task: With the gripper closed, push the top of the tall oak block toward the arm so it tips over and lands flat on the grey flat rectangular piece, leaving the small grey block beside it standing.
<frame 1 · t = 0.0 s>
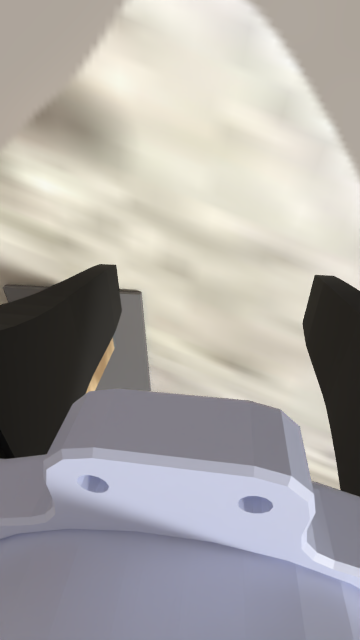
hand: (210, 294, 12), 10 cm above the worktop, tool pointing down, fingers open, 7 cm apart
grey flat rectangular piece: (88, 361, 29), on the worktop
oak block: (77, 323, 26), resting on grey flat rectangular piece
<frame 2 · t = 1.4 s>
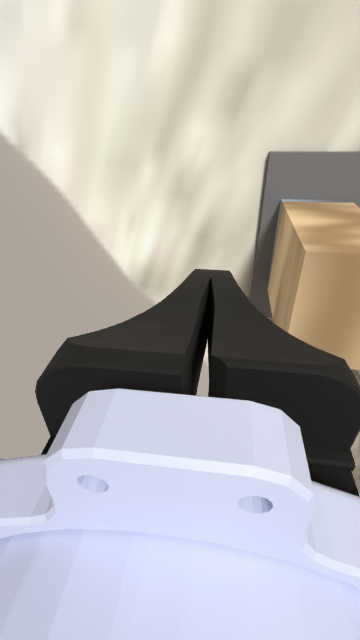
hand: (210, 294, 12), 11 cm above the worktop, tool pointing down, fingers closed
oak block: (305, 247, 21), resting on grey flat rectangular piece
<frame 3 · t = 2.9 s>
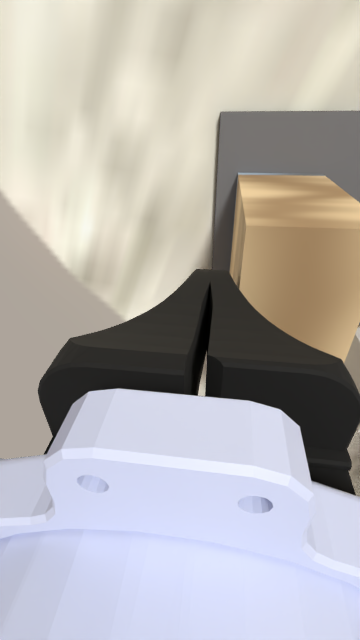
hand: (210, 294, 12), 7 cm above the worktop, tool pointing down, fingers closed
grey flat rectangular piece: (355, 234, 17), on the worktop
oak block: (270, 233, 17), resting on grey flat rectangular piece, touching gripper
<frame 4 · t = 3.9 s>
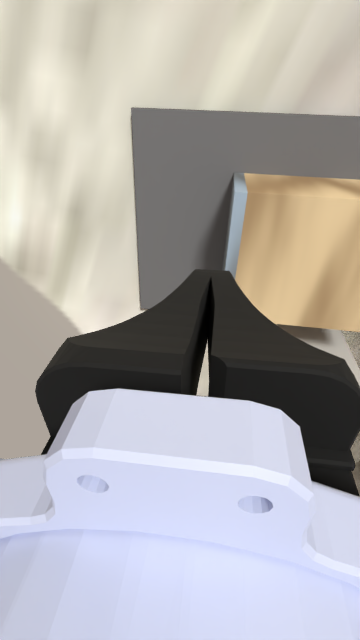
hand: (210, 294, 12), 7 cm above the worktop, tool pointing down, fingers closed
grey flat rectangular piece: (272, 232, 18), on the worktop
grey block: (301, 350, 22), on the worktop
oak block: (226, 245, 16), point 2 cm above the worktop, tilted 90°, touching grey flat rectangular piece
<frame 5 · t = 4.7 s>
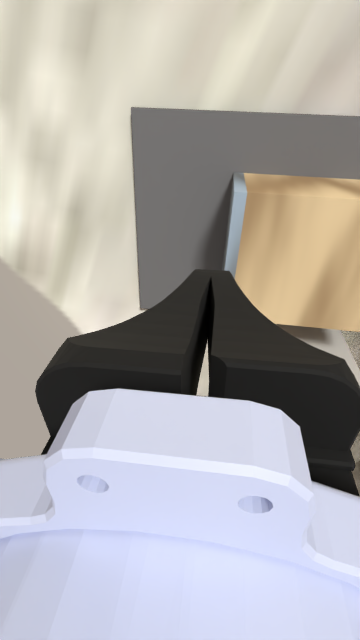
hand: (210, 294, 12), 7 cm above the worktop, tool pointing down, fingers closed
grey flat rectangular piece: (272, 232, 18), on the worktop
grey block: (301, 350, 22), on the worktop
oak block: (226, 245, 16), point 2 cm above the worktop, tilted 90°, touching grey flat rectangular piece
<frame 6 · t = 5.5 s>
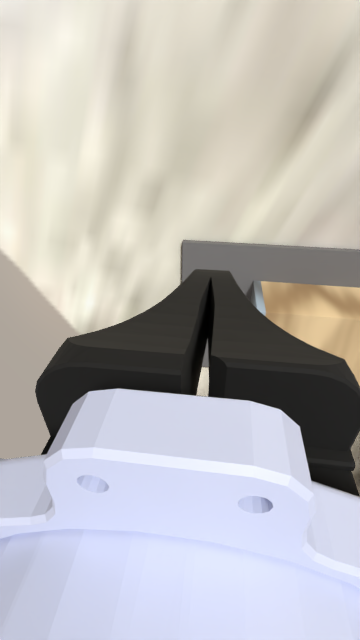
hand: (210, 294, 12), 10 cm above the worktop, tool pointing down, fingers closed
grey flat rectangular piece: (281, 315, 24), on the worktop
oak block: (249, 332, 22), point 2 cm above the worktop, tilted 90°, touching grey flat rectangular piece
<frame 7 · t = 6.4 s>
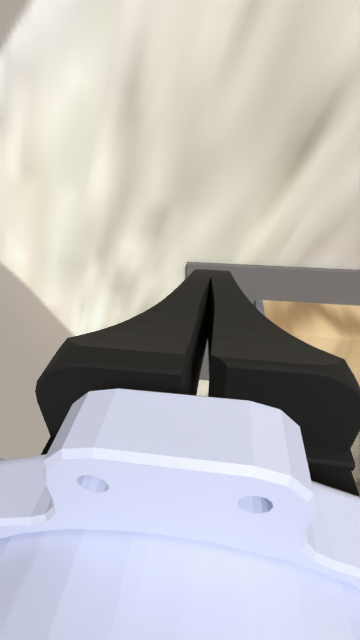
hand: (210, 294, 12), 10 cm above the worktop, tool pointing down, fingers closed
grey flat rectangular piece: (282, 331, 25), on the worktop
oak block: (252, 349, 23), point 2 cm above the worktop, tilted 90°, touching grey flat rectangular piece
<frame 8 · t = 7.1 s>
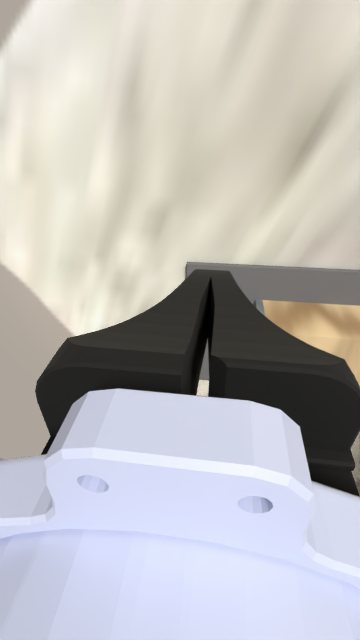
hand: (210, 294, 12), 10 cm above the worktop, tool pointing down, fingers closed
grey flat rectangular piece: (282, 331, 25), on the worktop
oak block: (252, 349, 23), point 2 cm above the worktop, tilted 90°, touching grey flat rectangular piece
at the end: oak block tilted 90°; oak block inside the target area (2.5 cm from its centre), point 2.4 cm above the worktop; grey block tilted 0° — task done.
